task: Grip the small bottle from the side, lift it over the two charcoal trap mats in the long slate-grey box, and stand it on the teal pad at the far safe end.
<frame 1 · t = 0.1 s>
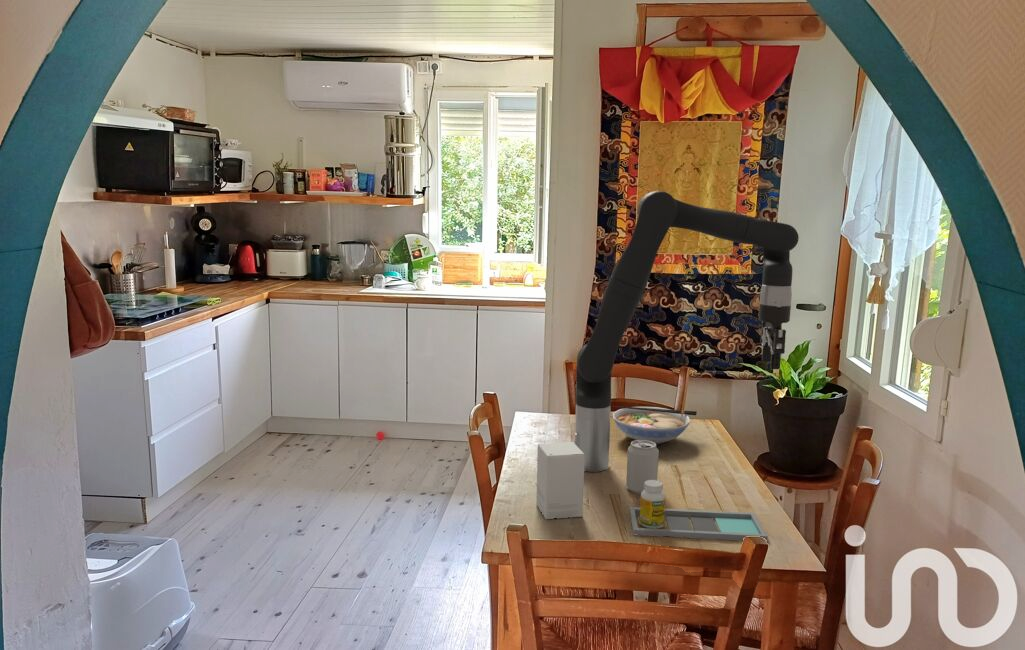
hand: (770, 365, 193), 29 cm above the table, tool pointing down, fingers open, 8 cm apart
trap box: (695, 526, 166), on the table
ramen bowl: (649, 441, 224), on the table
supplement bottle: (651, 525, 166), resting in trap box
supplement box: (559, 511, 173), on the table
can: (641, 490, 186), on the table
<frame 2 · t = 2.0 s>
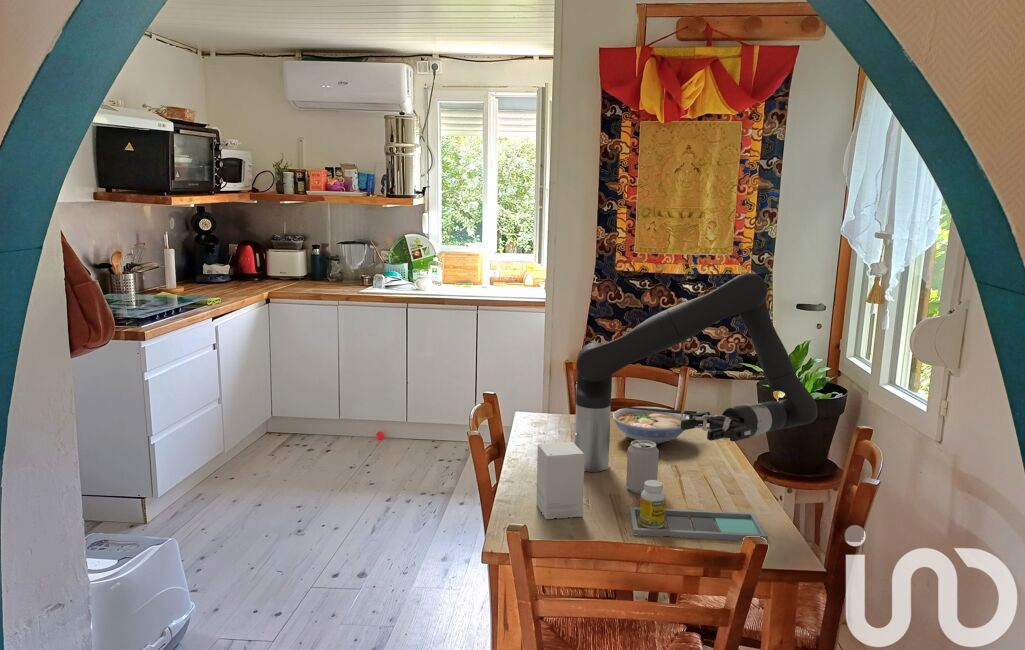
hand: (694, 430, 168), 20 cm above the table, tool horizontal, fingers open, 8 cm apart
nothing on the table moved.
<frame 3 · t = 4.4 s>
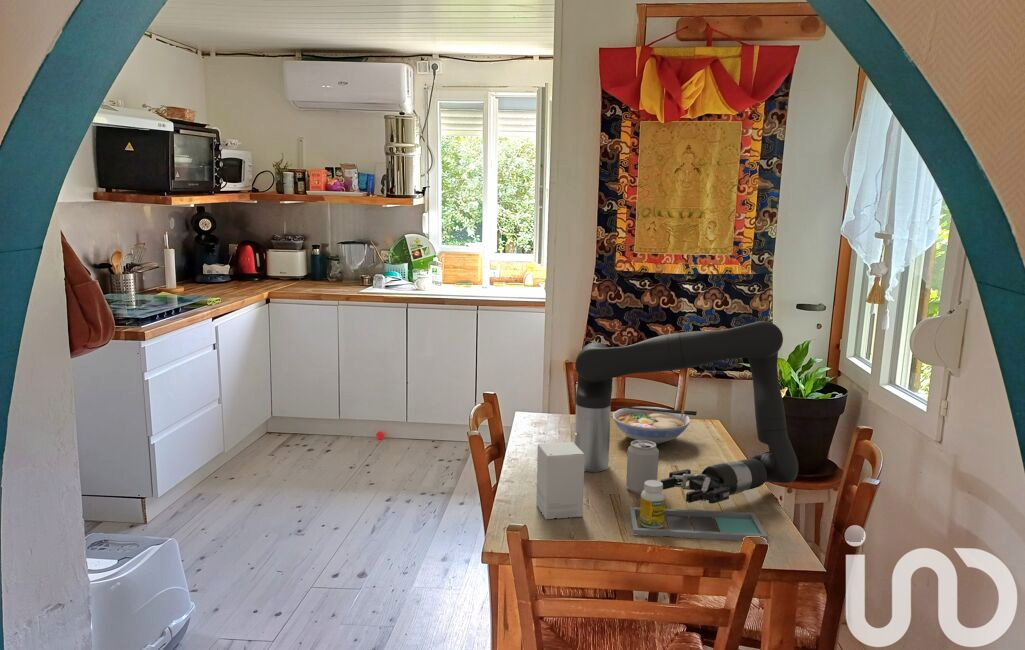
hand: (674, 491, 168), 7 cm above the table, tool horizontal, fingers open, 8 cm apart
nothing on the table moved.
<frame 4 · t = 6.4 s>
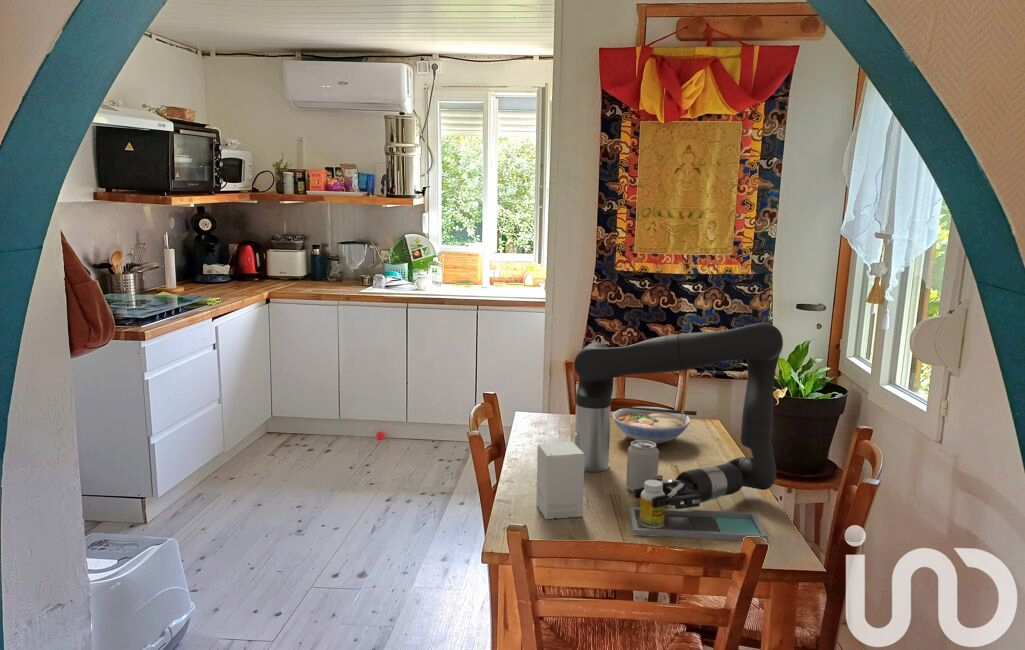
hand: (644, 498, 164), 7 cm above the table, tool horizontal, fingers closed on supplement bottle, 5 cm apart
supplement bottle: (651, 525, 166), resting in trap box, touching gripper
everything else where it was.
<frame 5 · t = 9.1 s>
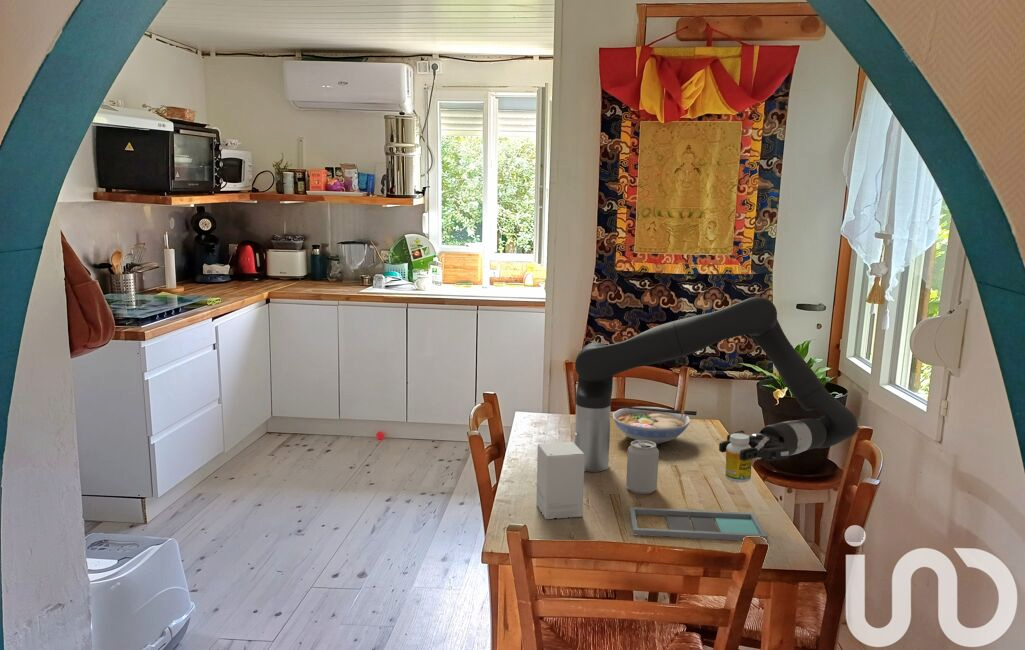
hand: (730, 451, 161), 18 cm above the table, tool horizontal, fingers closed on supplement bottle, 5 cm apart
supplement bottle: (737, 479, 163), point 11 cm above the table, touching gripper
everything else where it was.
when the fingers open (8 cm above the table, at t = 11.6 s): supplement bottle drops 1 cm, resting on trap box.
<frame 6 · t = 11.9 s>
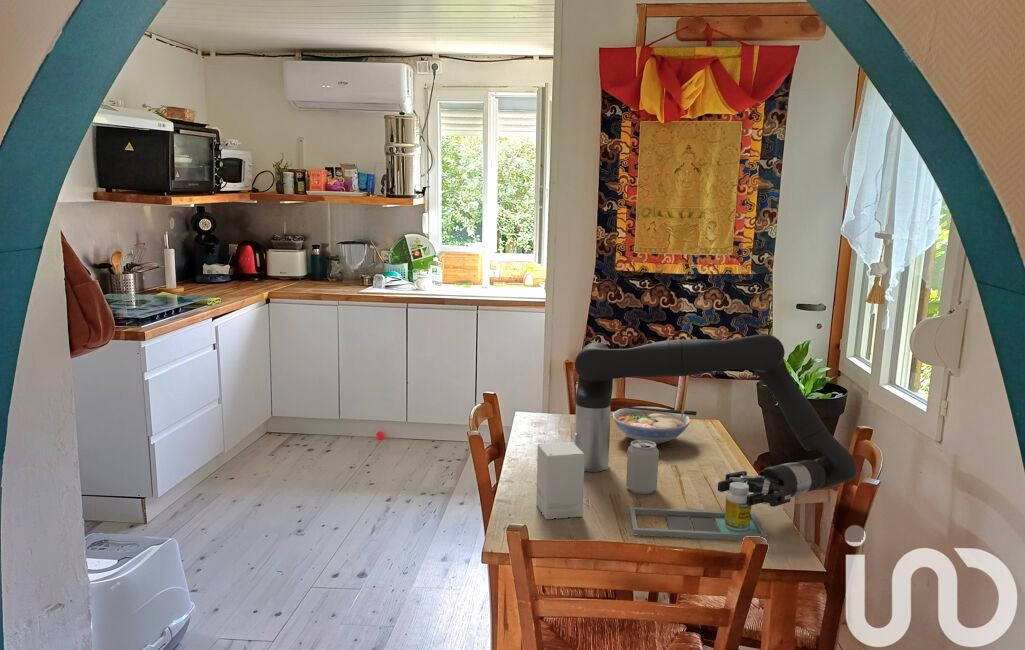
hand: (733, 493, 163), 8 cm above the table, tool horizontal, fingers open, 8 cm apart
supplement bottle: (736, 527, 165), resting on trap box
everything else where it was.
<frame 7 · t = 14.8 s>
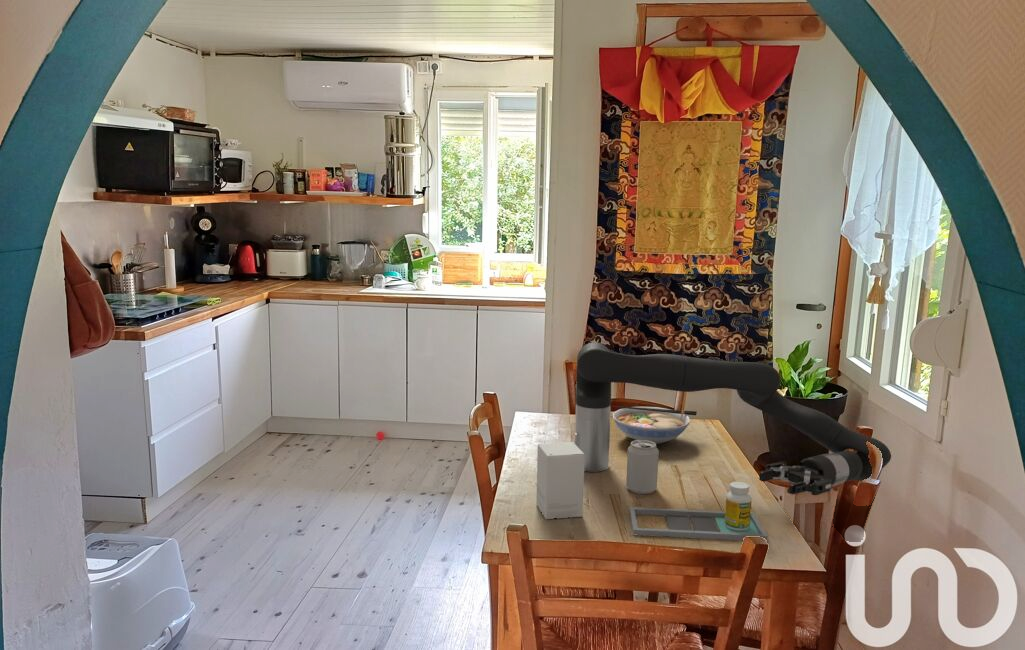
hand: (775, 483, 169), 8 cm above the table, tool horizontal, fingers open, 8 cm apart
nothing on the table moved.
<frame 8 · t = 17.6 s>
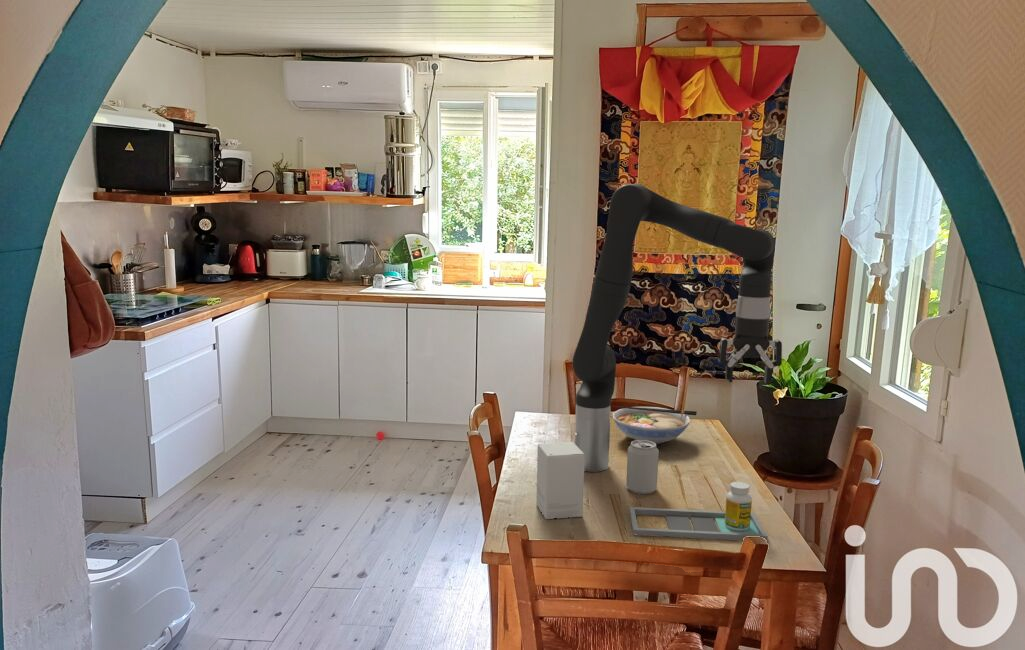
hand: (748, 382, 180), 28 cm above the table, tool pointing down, fingers open, 8 cm apart
nothing on the table moved.
at the end: supplement bottle inside the target area on the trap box (0.8 cm from its centre), point 0.1 cm above the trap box's base; supplement bottle tilted 0°; the gripper is holding nothing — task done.
